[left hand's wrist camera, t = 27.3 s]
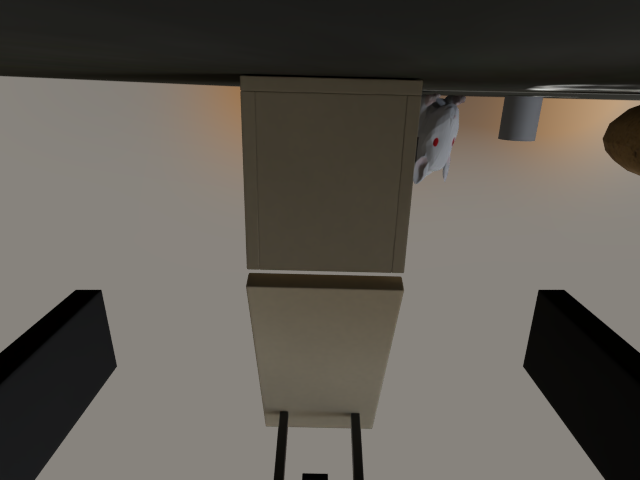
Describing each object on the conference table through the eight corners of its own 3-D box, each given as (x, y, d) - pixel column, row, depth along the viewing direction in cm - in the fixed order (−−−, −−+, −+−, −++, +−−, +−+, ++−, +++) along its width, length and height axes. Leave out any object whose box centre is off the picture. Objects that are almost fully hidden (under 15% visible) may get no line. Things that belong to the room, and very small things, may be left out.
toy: (480, 94, 67) (467, 186, 71) (397, 93, 87) (392, 165, 92) (435, 92, 63) (424, 190, 68) (360, 91, 83) (356, 166, 88)
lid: (371, 416, 37) (381, 537, 30) (267, 413, 37) (253, 534, 30) (401, 275, 25) (429, 423, 18) (248, 272, 25) (219, 418, 18)
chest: (379, 85, 37) (371, 202, 40) (275, 83, 37) (276, 199, 40) (423, 80, 21) (404, 273, 24) (239, 75, 21) (246, 269, 24)
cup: (504, 96, 98) (497, 139, 101) (543, 97, 95) (535, 142, 98) (505, 96, 105) (499, 136, 108) (542, 97, 102) (534, 139, 105)
